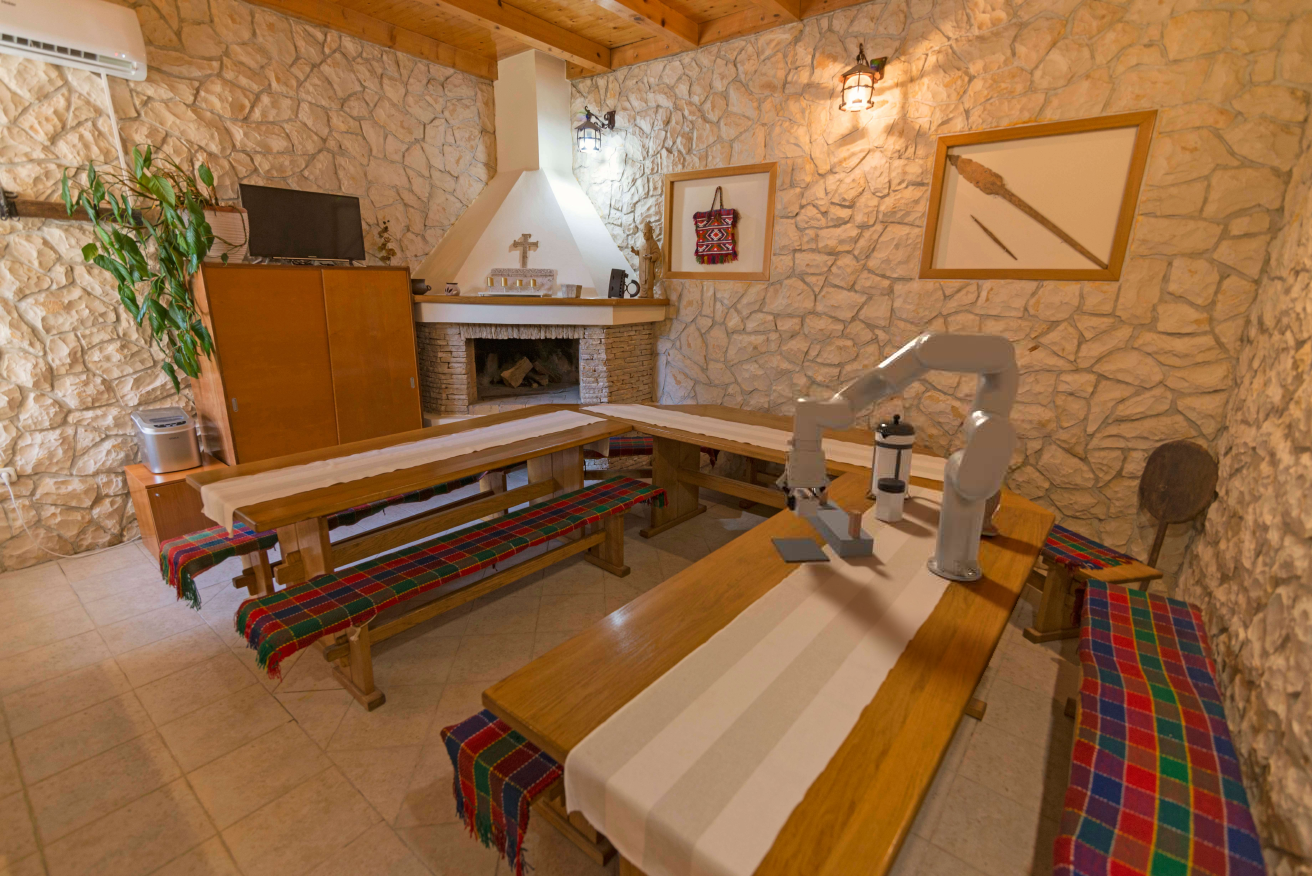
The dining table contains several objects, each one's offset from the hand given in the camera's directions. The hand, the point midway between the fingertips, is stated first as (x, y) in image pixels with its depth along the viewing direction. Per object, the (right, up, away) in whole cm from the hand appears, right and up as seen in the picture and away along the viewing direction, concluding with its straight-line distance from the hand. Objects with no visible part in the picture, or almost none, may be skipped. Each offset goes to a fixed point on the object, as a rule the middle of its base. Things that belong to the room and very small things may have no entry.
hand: (801, 508), depth 153 cm
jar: (+34, -6, +27) cm, 44 cm away
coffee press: (+42, -2, +45) cm, 62 cm away
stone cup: (+55, -9, +18) cm, 59 cm away
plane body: (+13, -9, +14) cm, 21 cm away
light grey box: (0, 0, 0) cm, 0 cm away
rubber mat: (0, -12, +3) cm, 12 cm away
